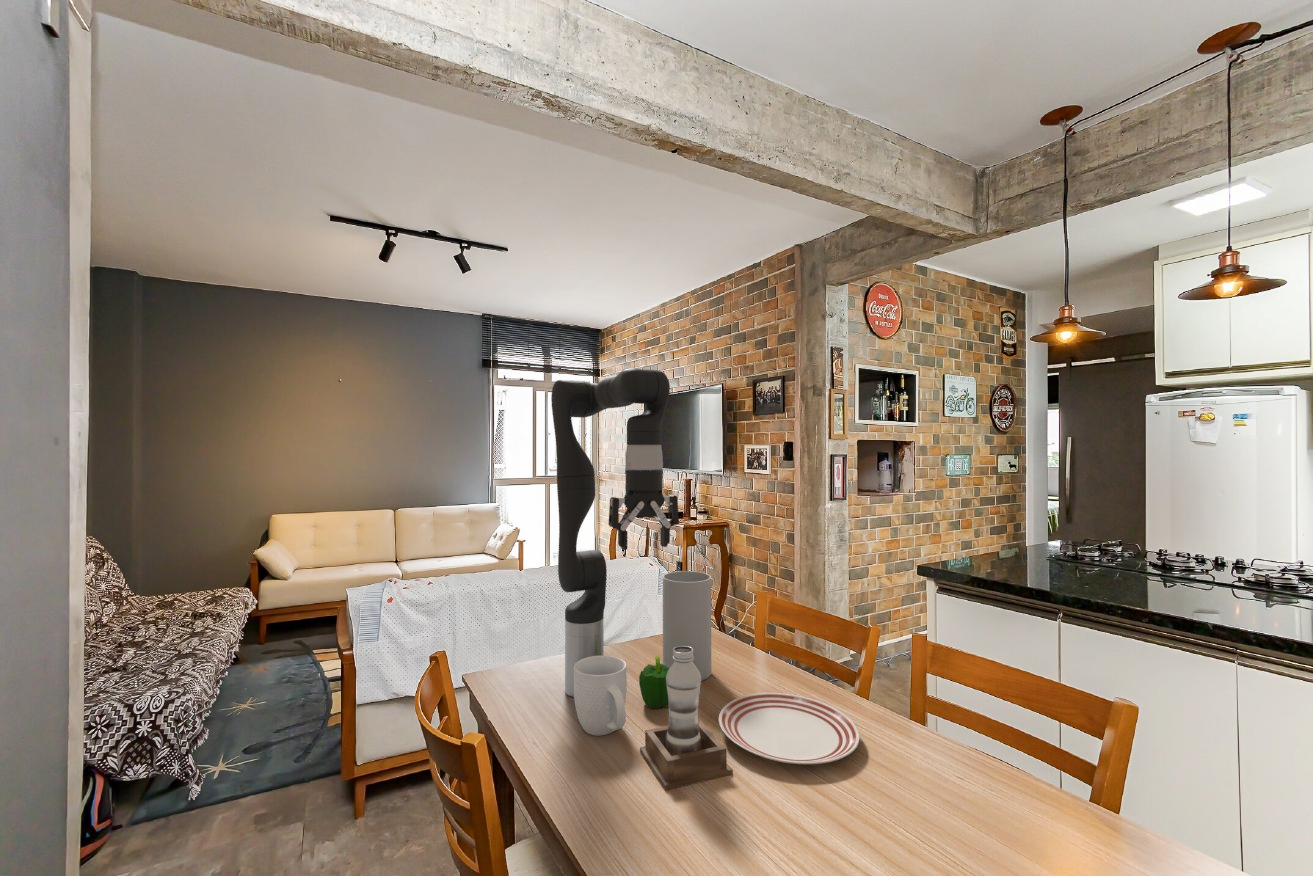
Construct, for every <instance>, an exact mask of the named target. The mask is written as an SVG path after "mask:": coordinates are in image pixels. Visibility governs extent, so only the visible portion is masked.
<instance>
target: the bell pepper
mask: <svg viewBox="0 0 1313 876" xmlns="http://www.w3.org/2000/svg"><path fill="white" fill-rule="evenodd" d="M654 660H655V665H653V664H650V663H648V664H647V665H645V667H644V668H643V670H641V671H640V673H639V679H638V681H639V689H640V694H641V698H642V701H643V702H644V704H645V705H646V706H647V707H649V708H652V709H656V708H659V707H662V708H665V707H666V708H667V707H669V703H668V692H667V684H666V676H667V672H668V670H669V669H670V668H667V666H665V665H664V664H663V662H662V663H661V659H660V656H659V655H656V656H655V659H654Z"/></svg>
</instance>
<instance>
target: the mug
mask: <svg viewBox="0 0 1313 876" xmlns="http://www.w3.org/2000/svg"><path fill="white" fill-rule="evenodd" d="M627 680H628V675H627V663H626V661H625V660H623V659H622V658H619V657H617V656H612V655H604V656H592V657H587V658H584V659H581V660H579V661H578V662H576V663H575V665H574V697H573V699H574V705H575V712H576V714H577V719H578V722H579V724H580V725H581V727H582V729H583V731H585V732H586V733H587V734H588V735H592V736H598V737H599V736H605V735H609V734H612V733H613V732H614V731H618V730H621V729H622V728H623V727H624V726H625V724H626V719H627V718H626V714H627V713H626V699H627V688H628V687H627V686H628V685H627V684H628V681H627Z"/></svg>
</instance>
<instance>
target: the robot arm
mask: <svg viewBox="0 0 1313 876" xmlns="http://www.w3.org/2000/svg"><path fill="white" fill-rule="evenodd" d="M670 391H671V385H670V381H669V377H668V376H667V375H666V373H664V372H663V371H662V370H658V369H647V368H646V369H645V368H636V367H633V368H632V367H631V368H625V369H623V370H621V371H620V372H619V373H617V374H615V375H611V376H608V377H605V378H603V379H602V380H600V381H598V383H594V382H590V381H585V380H578V379H577V380H576V379H558V380H556V381H555V382H554V383H553V386H552V389H551V396H550V397H551V398H550V399H551V411H552V412H551V413H552V420H553V428H554V436H555V449H556V451H555V453H556V454H555V455H556V488H557V490H556V492H557V504H558V506H557V507H558V526H559V527H558V531H559V533H558V553H557V554H558V561H557V565H558V566H557V569H558V570H557V573H558V581H559V585H560V587H561V589H562V591H564V592H566V593H575V592H582V591H583V593H582V595H581V596H579V598H578V599H576V600H574V601H573V602H571V603H569V604H568V605H567V606H566V608H565V610H564V692H565V694H566V695H568V696H569V697H572V698H574V665H575V663H576V662H578V661H579V660H581V659H584V658H587V657H592V656H605V653H604V651H605V650H604V648H605V647H604V645H605V643H604V642H605V641H604V638H605V637H604V636H605V635H604V633H605V631H604V624H605V623H604V620H605V619H604V618H605V617H604V615H605V614H604V613H605V612H604V611H605V608H606V596H607V591H606V590H607V577H608V576H607V562H606V561H607V560H606V559H605V556H604V554H603V553H602V552H601V550H595V549H593V550H592V549H591V550H583V551H577V546H578V545H577V544H578V537H579V532H580V529H581V527H582V525H583V523H584V520H585V519H586V517H587V515H588V514H589V512H590V509H591V507H592V506H593V504H594V502H595V498H596V477H595V475H596V473H595V468H594V466H593V463H592V461H591V459H590V458H589V457H588V455H587V454H586V452H585V450H584V448H582V445H581V444H580V442H579V441H578V439H577V437H576V434H575V432H574V427H573V420H572V418H589V417H592V416H594V415H597V414H599V413H600V412H602V411H604V410H607V409H618V408H624V407H628V406H632V405H633V404H643V405H644V404H645V405H646V406H645V408H644V411H643V412H642V414H637V415H632V416H630V417H629V418H628V419H627V422H626V448H625V449H626V450H625V495H624V497H616V496H611V497H610V499H609V510H608V511H609V512H608V526H609V527H611V528H613V529H616V530H617V542H618V543H617V544H618V546H619V547H620V549H622V550H623V551H625V550H626V551H627V550H628V530H627V529H628V527H629V526H630V525H631V523H633V521H634V520H635V518H637V519H644V518H648V519H650V518H651V519H653V518H655V519H656V521H657V522H658V523H659V525H661V527H660V528H659V531H660V533H659V535H660V546H661V547H662V548H665V547H666V548H667V547H668V545H669V544H670V541H671V537H670V536H671V533H670V532H671V527H673V526H677V525H679V524H680V523H679V522H680V520H679V501H678V496H677V495H673V494H669V495H666V496H664V493H663V489H664V488H663V486H664V485H663V476H664V474H663V471H664V470H663V469H664V461H663V457H664V456H663V450H662V424H663V420H664V416H665V411H666V407H667V404H668V400H669V397H670ZM664 503H665V505H666V506H667V509H668V519H667V516H666V514H665V513H664V512H663V510H662V509H661V508H662V507H663V505H664ZM623 505H624V506H625V508H627V509H626V511H625V512H624V513H623V515H622V517H621V519H620V521H619V512H620V509H621V508H622V506H623Z"/></svg>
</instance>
